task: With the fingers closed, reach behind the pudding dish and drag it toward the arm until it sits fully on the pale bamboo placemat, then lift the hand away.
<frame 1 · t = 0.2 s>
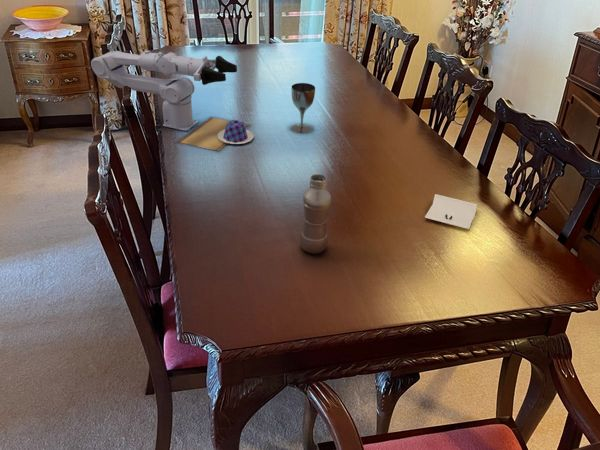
hand: (230, 73, 174), 22 cm above the table, tool horizontal, fingers open, 7 cm apart
folded paper: (450, 216, 151), on the table
pudding: (235, 138, 185), on the table, touching placemat
placemat: (214, 133, 187), on the table
wine glass: (301, 129, 193), on the table
plastic bottle: (313, 249, 136), on the table
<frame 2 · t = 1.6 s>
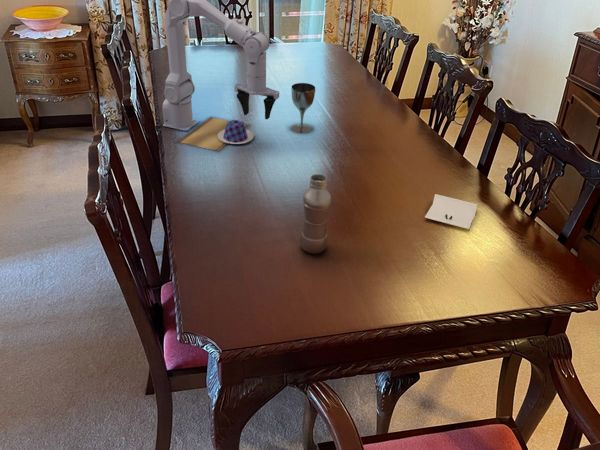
hand: (256, 116, 177), 9 cm above the table, tool pointing down, fingers open, 7 cm apart
nothing on the table moved.
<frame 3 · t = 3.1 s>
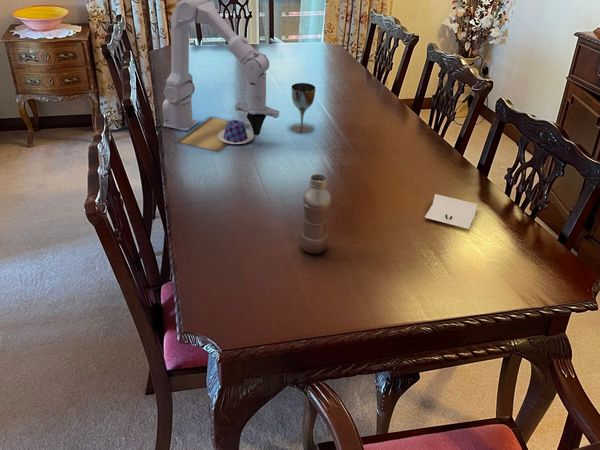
hand: (256, 134, 181), 3 cm above the table, tool pointing down, fingers closed
nothing on the table moved.
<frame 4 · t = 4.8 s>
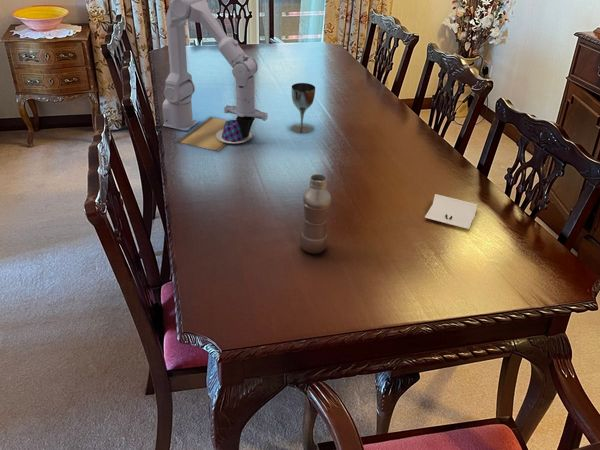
hand: (246, 136, 183), 1 cm above the table, tool pointing down, fingers closed
pudding: (234, 137, 185), on the table, touching gripper, placemat
everything else where it was.
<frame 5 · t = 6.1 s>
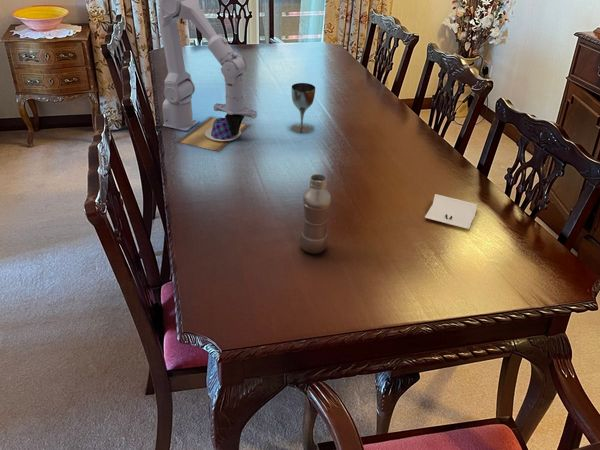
hand: (235, 134, 184), 1 cm above the table, tool pointing down, fingers closed
pudding: (223, 135, 186), resting on placemat, touching gripper
everything else where it was.
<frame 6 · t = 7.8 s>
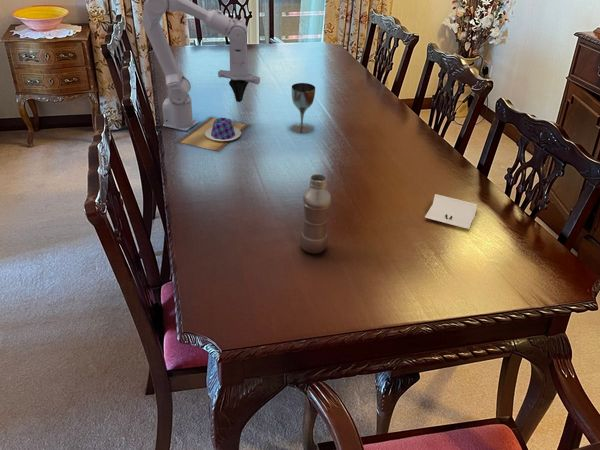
hand: (239, 100, 187), 9 cm above the table, tool pointing down, fingers closed
pudding: (223, 135, 186), resting on placemat
everything else where it was.
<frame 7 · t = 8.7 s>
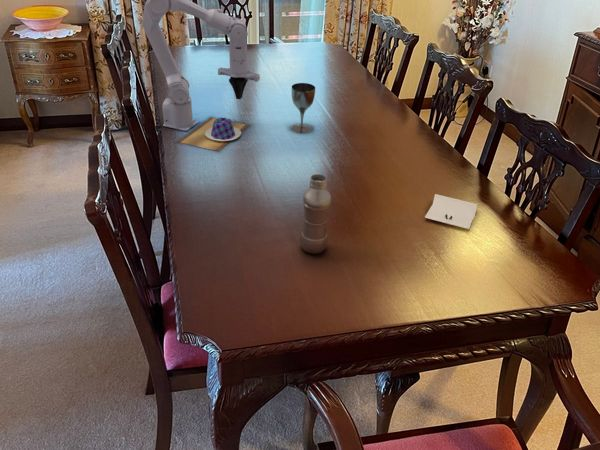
hand: (239, 98, 189), 9 cm above the table, tool pointing down, fingers closed
nothing on the table moved.
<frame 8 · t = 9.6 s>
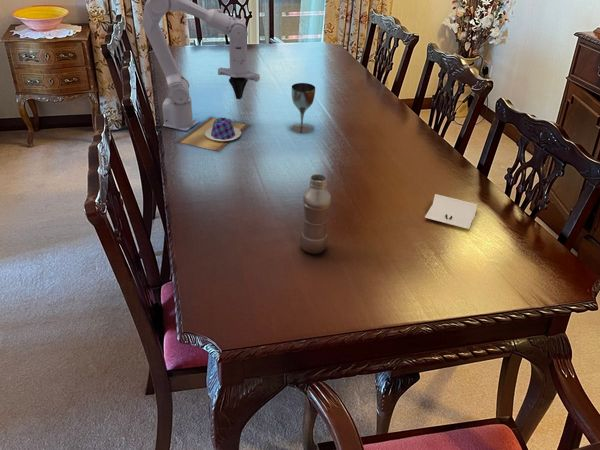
hand: (239, 98, 189), 9 cm above the table, tool pointing down, fingers closed
nothing on the table moved.
at the end: pudding inside the target area (4.2 cm from its centre), resting on placemat; pudding moved 4.6 cm from its start; pudding tilted 0° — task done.
